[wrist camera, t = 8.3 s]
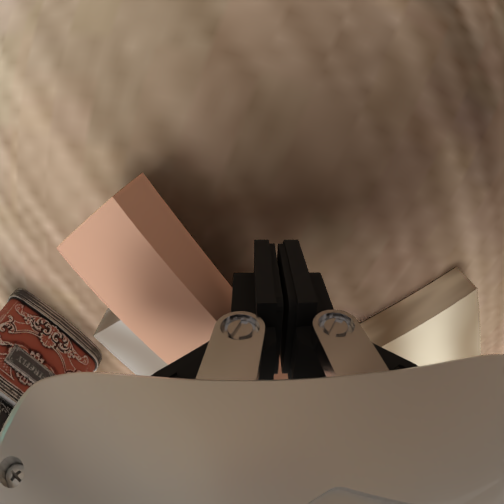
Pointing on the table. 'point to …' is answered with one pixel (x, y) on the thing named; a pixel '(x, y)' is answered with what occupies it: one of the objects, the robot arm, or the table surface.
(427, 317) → the stool seat
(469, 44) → the table surface
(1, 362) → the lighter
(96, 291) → the stool leg
